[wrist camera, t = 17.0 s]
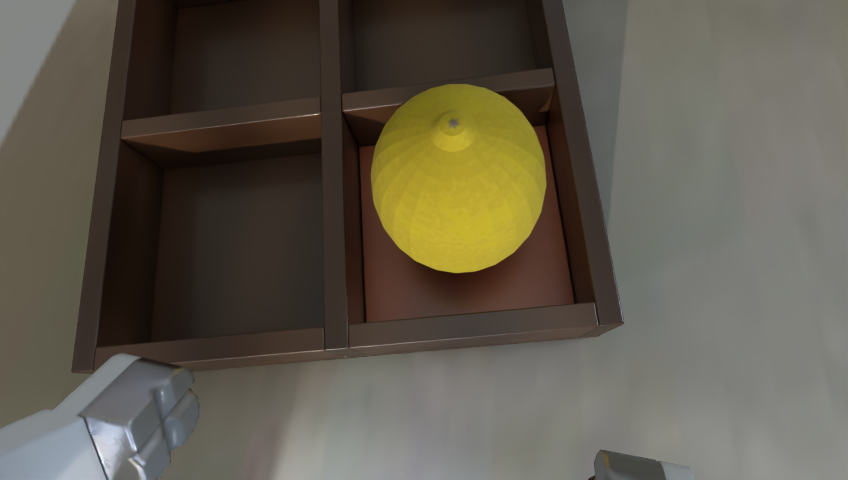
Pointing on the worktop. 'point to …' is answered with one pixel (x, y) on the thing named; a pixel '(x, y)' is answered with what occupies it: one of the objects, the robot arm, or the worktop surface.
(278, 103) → the grid
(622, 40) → the worktop surface
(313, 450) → the worktop surface
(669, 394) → the worktop surface
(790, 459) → the worktop surface
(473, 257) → the lemon
